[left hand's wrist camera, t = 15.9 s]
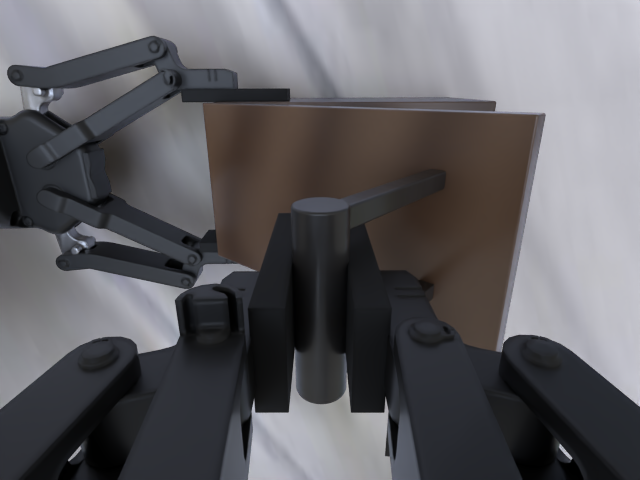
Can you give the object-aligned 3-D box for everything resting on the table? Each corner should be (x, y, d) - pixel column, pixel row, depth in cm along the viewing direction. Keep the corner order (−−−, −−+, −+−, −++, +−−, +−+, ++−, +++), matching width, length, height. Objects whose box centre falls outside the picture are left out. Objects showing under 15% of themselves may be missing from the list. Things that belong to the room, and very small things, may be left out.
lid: (546, 112, 13) (428, 137, 7) (500, 355, 16) (394, 515, 10) (216, 102, 23) (54, 108, 17) (229, 251, 27) (98, 299, 21)
